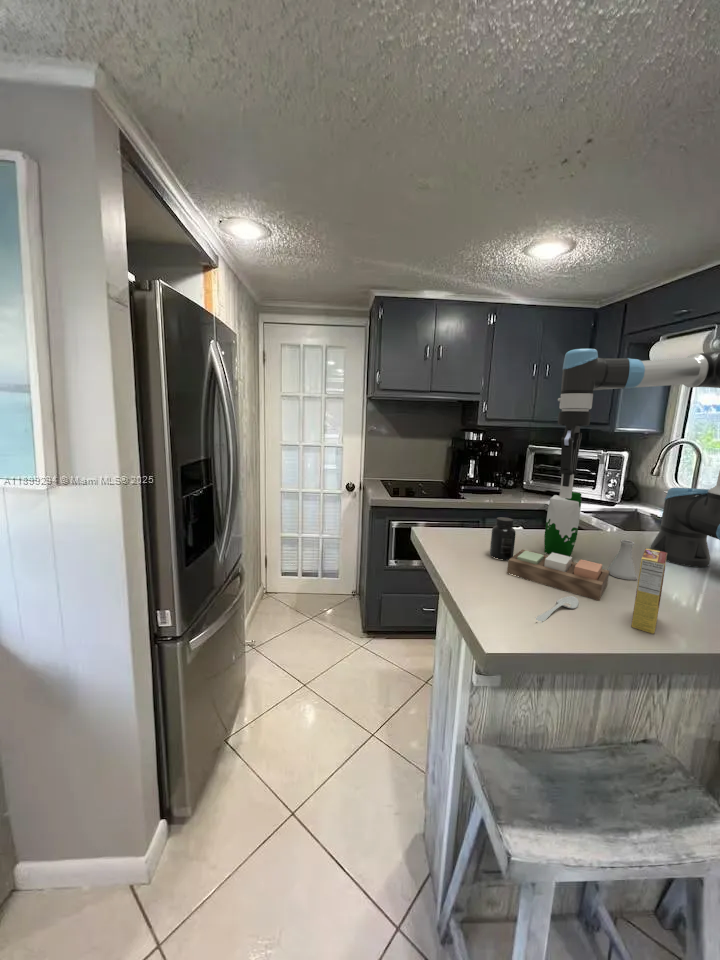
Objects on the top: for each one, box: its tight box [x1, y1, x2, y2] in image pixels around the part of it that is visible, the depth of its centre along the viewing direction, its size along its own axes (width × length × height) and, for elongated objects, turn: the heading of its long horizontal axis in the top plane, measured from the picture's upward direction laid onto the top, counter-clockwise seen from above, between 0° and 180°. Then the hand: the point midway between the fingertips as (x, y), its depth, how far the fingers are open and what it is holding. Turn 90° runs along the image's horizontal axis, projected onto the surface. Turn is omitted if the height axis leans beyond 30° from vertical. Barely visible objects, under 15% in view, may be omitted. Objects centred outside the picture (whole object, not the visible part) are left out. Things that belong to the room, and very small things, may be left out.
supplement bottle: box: [489, 516, 517, 561], centre depth 119 cm, size 7×7×12 cm
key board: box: [506, 549, 610, 601], centre depth 105 cm, size 22×12×4 cm, turn 50°
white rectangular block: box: [544, 552, 573, 572], centre depth 104 cm, size 5×7×4 cm
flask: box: [606, 539, 638, 581], centre depth 109 cm, size 7×7×10 cm
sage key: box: [517, 549, 545, 564], centre depth 109 cm, size 5×7×4 cm
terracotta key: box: [574, 559, 603, 581], centre depth 100 cm, size 5×7×4 cm
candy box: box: [630, 548, 667, 635], centre depth 83 cm, size 9×4×15 cm, turn 140°
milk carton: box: [543, 491, 582, 557], centre depth 125 cm, size 9×9×20 cm
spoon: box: [535, 595, 580, 623], centre depth 87 cm, size 4×21×2 cm, turn 127°
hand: (565, 497), depth 108 cm, fingers closed
